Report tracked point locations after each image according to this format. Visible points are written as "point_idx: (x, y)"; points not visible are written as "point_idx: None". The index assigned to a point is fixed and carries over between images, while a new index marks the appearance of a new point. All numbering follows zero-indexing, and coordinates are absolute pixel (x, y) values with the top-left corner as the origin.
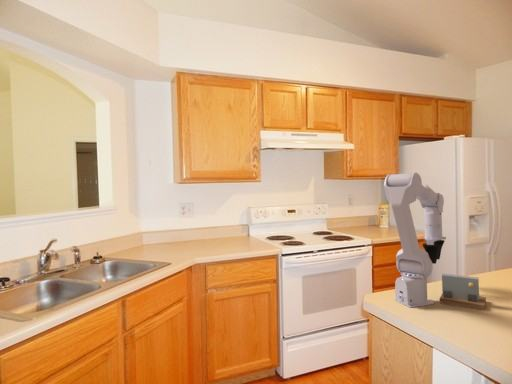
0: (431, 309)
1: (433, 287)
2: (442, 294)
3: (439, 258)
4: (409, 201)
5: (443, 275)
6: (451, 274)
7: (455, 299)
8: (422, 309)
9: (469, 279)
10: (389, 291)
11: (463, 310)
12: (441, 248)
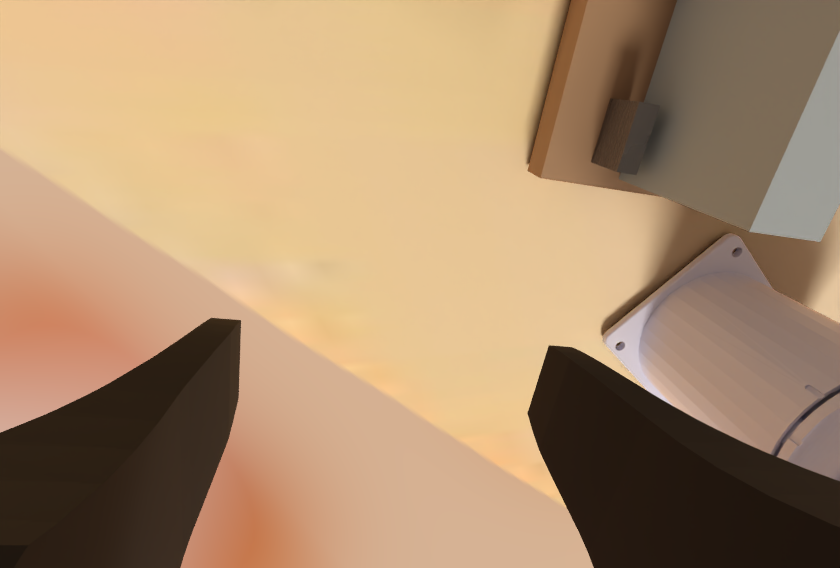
0: (810, 241)
1: (320, 247)
2: (637, 188)
3: (224, 322)
4: None
5: (825, 225)
6: (790, 138)
7: None
8: (812, 285)
9: None
10: (528, 474)
11: None
12: (93, 414)
